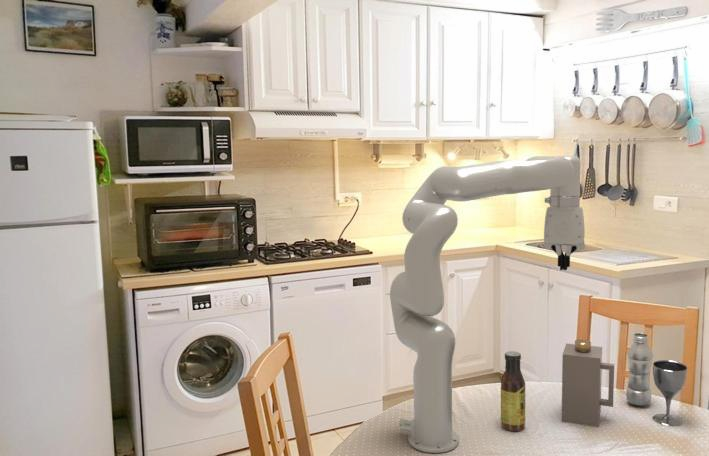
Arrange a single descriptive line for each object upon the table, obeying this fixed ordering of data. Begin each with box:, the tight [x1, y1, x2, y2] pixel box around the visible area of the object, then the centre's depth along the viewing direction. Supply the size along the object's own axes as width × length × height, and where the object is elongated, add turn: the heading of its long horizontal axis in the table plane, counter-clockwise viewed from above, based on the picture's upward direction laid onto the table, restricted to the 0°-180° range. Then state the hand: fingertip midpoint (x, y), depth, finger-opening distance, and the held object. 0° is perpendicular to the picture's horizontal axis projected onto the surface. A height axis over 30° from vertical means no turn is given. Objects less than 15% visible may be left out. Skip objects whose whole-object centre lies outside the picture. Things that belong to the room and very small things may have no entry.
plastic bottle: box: [625, 332, 654, 407], centre depth 172 cm, size 6×7×20 cm
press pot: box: [561, 342, 615, 428], centre depth 165 cm, size 12×9×19 cm
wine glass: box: [652, 359, 688, 427], centre depth 162 cm, size 8×8×15 cm
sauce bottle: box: [500, 350, 526, 432], centre depth 161 cm, size 7×6×20 cm
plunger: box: [574, 339, 592, 352], centre depth 165 cm, size 7×7×19 cm
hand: (563, 269), depth 169 cm, fingers closed
